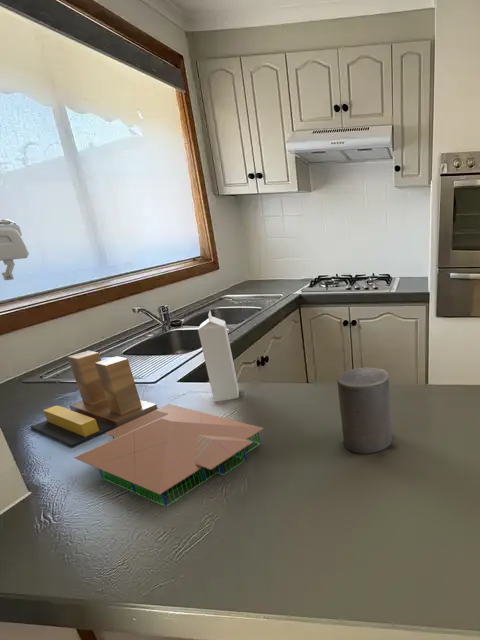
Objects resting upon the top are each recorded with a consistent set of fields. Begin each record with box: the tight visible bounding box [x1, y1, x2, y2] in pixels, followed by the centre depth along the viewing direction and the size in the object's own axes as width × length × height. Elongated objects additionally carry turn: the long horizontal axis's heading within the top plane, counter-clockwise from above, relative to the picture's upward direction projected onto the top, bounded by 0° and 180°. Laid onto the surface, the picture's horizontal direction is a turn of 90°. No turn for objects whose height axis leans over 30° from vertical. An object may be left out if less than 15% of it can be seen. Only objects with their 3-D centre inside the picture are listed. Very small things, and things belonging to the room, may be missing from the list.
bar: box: [42, 405, 99, 437], centre depth 97 cm, size 18×3×3 cm, turn 59°
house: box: [74, 403, 265, 508], centre depth 81 cm, size 23×33×8 cm
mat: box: [29, 419, 116, 448], centre depth 97 cm, size 20×9×1 cm, turn 59°
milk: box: [197, 310, 240, 403], centre depth 105 cm, size 6×6×22 cm
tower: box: [67, 350, 159, 428], centre depth 103 cm, size 22×10×14 cm, turn 59°
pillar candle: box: [336, 367, 393, 454], centre depth 80 cm, size 10×10×15 cm
